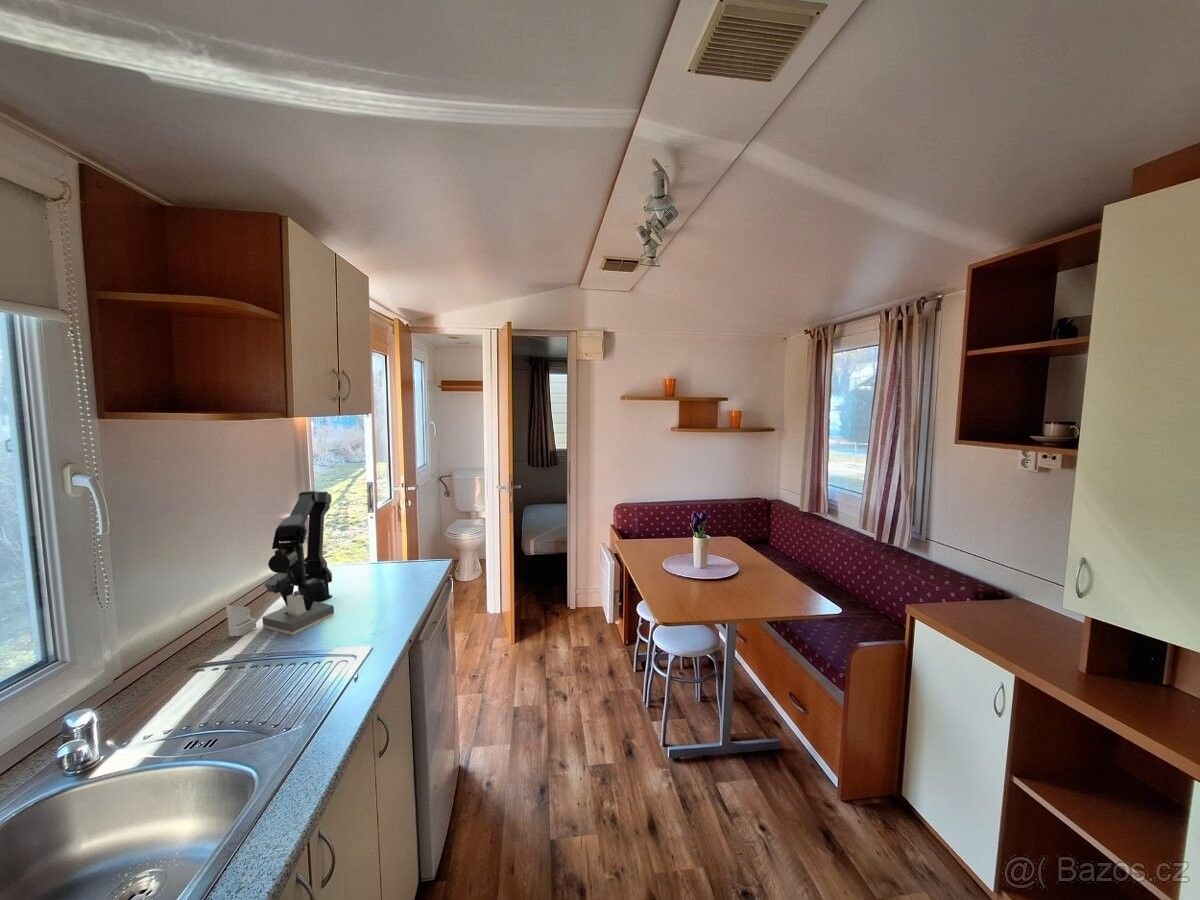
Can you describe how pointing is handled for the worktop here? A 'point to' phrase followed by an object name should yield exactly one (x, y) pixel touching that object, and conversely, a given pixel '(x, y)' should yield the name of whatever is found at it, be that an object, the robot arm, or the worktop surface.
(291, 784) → the worktop surface
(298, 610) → the plug
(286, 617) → the socket
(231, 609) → the white wedge bracket
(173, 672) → the worktop surface
